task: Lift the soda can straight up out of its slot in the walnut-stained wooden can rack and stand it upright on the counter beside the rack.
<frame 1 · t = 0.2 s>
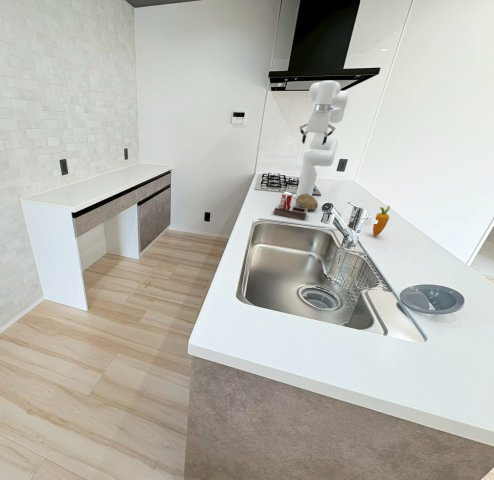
hand: (313, 144, 140), 37 cm above the countertop, tool pointing down, fingers open, 9 cm apart
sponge: (305, 207, 159), on the countertop
can rack: (289, 215, 145), on the countertop
carrot: (374, 236, 121), on the countertop
soda can: (283, 214, 147), resting in can rack
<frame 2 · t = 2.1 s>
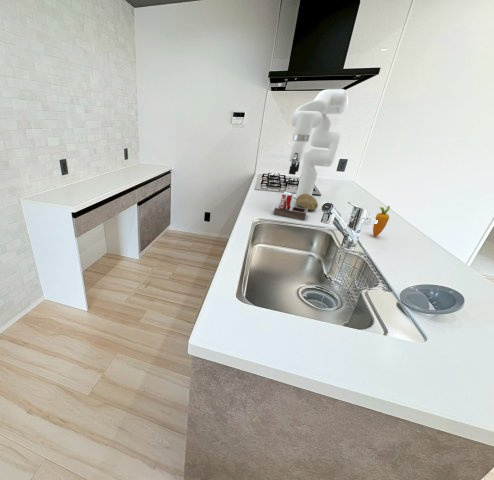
hand: (293, 172, 137), 23 cm above the countertop, tool pointing down, fingers open, 9 cm apart
nothing on the countertop moved.
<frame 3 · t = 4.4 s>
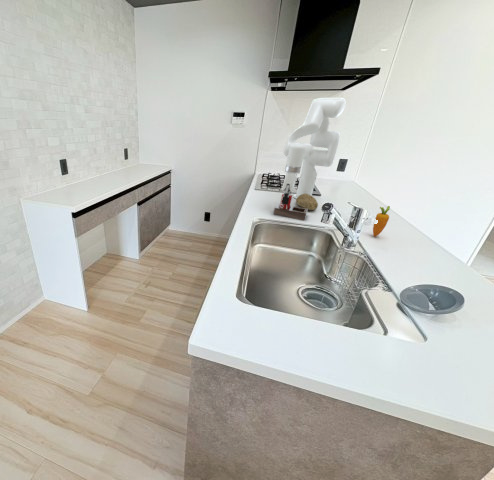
hand: (285, 202, 144), 7 cm above the countertop, tool pointing down, fingers closed on soda can, 5 cm apart
soda can: (283, 214, 147), resting in can rack, touching gripper
everything else where it was.
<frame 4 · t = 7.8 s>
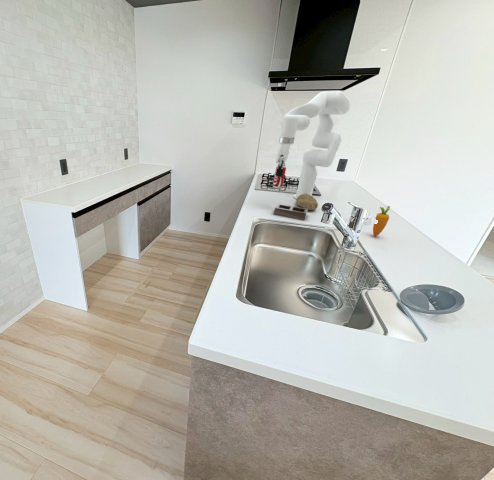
hand: (279, 174, 145), 20 cm above the countertop, tool pointing down, fingers closed on soda can, 5 cm apart
soda can: (277, 187, 148), point 13 cm above the countertop, touching gripper
everything else where it was.
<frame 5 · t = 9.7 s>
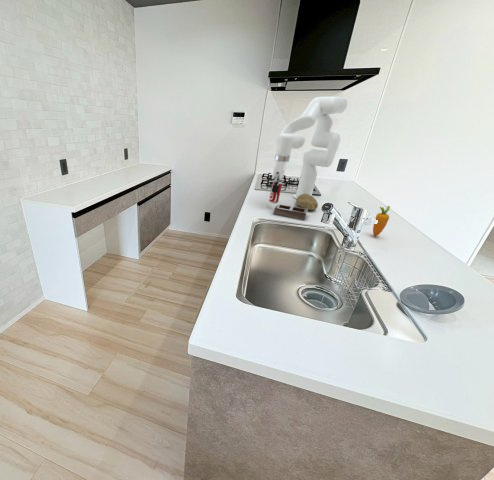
hand: (275, 190, 150), 11 cm above the countertop, tool pointing down, fingers closed on soda can, 5 cm apart
soda can: (273, 202, 153), point 4 cm above the countertop, touching gripper
everything else where it was.
when the fingers open (7 cm above the countertop, at t = 11.1 s): soda can stays where it is, on the countertop.
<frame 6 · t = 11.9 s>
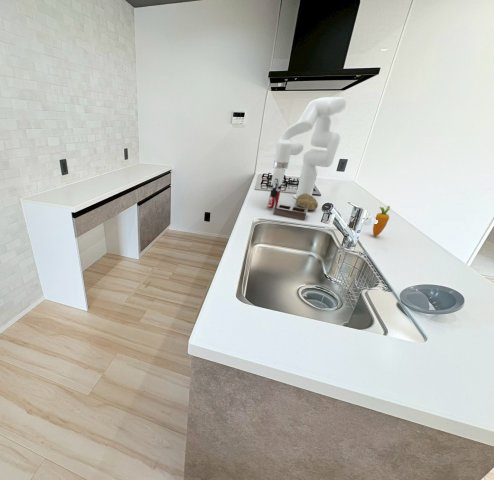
hand: (275, 194, 151), 8 cm above the countertop, tool pointing down, fingers open, 9 cm apart
soda can: (272, 208, 155), on the countertop
everything else where it was.
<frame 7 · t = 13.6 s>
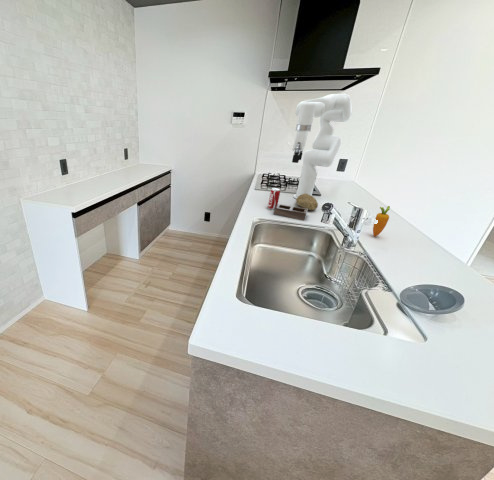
hand: (296, 161, 146), 27 cm above the countertop, tool pointing down, fingers open, 9 cm apart
nothing on the countertop moved.
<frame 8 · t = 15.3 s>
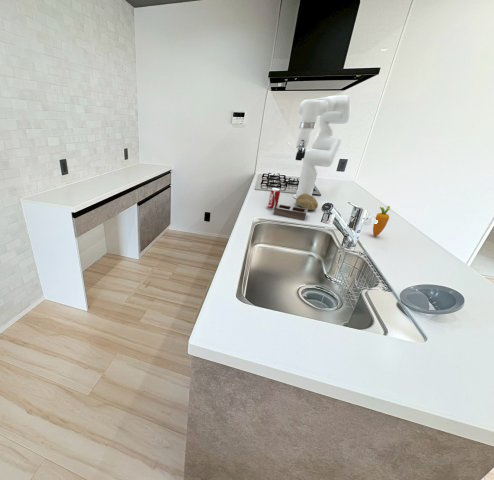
hand: (299, 159, 146), 28 cm above the countertop, tool pointing down, fingers open, 9 cm apart
nothing on the countertop moved.
at the end: soda can 0.3 cm from the target spot, on the countertop; soda can tilted 0°; soda can touching countertop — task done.
